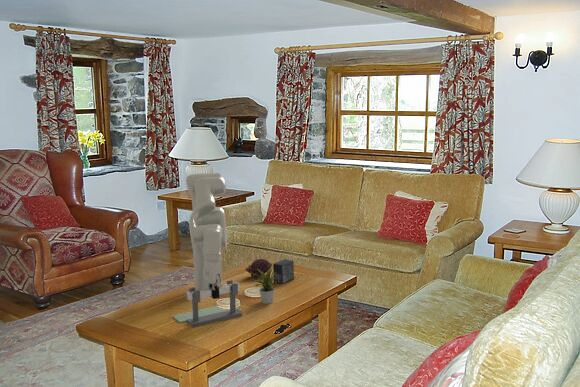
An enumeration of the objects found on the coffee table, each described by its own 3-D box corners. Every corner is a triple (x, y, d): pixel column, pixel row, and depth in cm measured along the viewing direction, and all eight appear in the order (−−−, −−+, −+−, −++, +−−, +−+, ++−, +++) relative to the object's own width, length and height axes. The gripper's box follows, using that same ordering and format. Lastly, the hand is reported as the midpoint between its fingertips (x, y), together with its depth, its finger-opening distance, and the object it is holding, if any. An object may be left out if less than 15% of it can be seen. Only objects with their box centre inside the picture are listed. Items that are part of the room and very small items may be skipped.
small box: (284, 277, 326) (284, 258, 325) (294, 279, 323) (294, 260, 321) (272, 282, 318) (272, 263, 316) (282, 284, 314) (282, 265, 312)
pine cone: (266, 271, 337) (266, 254, 335) (278, 275, 330) (278, 257, 328) (241, 278, 325) (241, 260, 323) (253, 282, 318) (253, 264, 316)
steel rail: (187, 298, 260) (186, 292, 260) (236, 288, 273) (236, 282, 272) (189, 300, 258) (189, 293, 257) (239, 290, 270) (239, 283, 270)
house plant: (256, 295, 298) (255, 263, 295) (284, 296, 295) (283, 264, 293) (248, 305, 284) (247, 271, 282) (277, 306, 282) (276, 273, 279)
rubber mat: (172, 316, 271) (172, 315, 271) (230, 304, 286) (230, 302, 286) (180, 323, 263) (179, 321, 263) (239, 309, 278) (239, 308, 278)
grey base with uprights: (186, 322, 263) (185, 288, 261) (236, 311, 276) (235, 279, 273) (192, 327, 258) (190, 292, 256) (242, 315, 271) (241, 282, 268)
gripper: (197, 253, 267) (198, 293, 270) (212, 262, 253) (214, 304, 257) (212, 251, 271) (213, 290, 274) (228, 259, 257) (230, 300, 260)
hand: (214, 296), depth 265 cm, fingers closed on steel rail, 3 cm apart
